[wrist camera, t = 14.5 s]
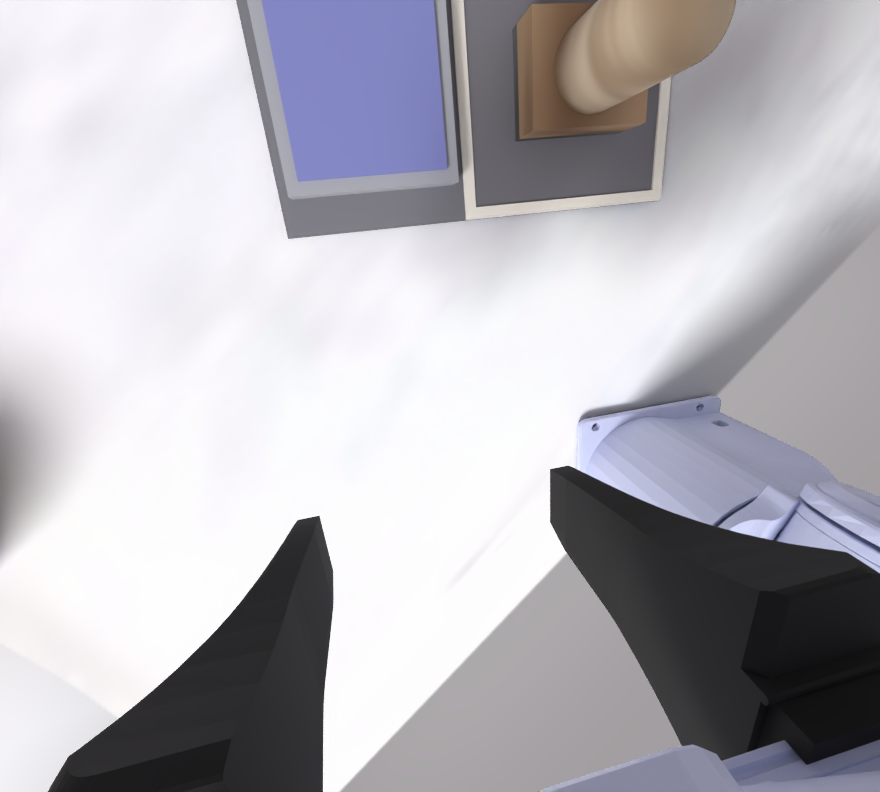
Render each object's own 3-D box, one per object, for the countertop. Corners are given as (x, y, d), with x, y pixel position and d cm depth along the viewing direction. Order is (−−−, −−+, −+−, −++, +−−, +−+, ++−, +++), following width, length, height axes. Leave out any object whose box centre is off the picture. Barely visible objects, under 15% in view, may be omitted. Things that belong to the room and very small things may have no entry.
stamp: (623, 25, 18) (776, -96, 11) (617, 133, 19) (751, 79, 13) (512, 29, 17) (609, -99, 11) (515, 141, 19) (603, 88, 12)
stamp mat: (673, -59, 18) (709, -92, 16) (652, 201, 21) (679, 197, 19) (225, -59, 15) (208, -99, 13) (289, 238, 19) (283, 238, 17)
